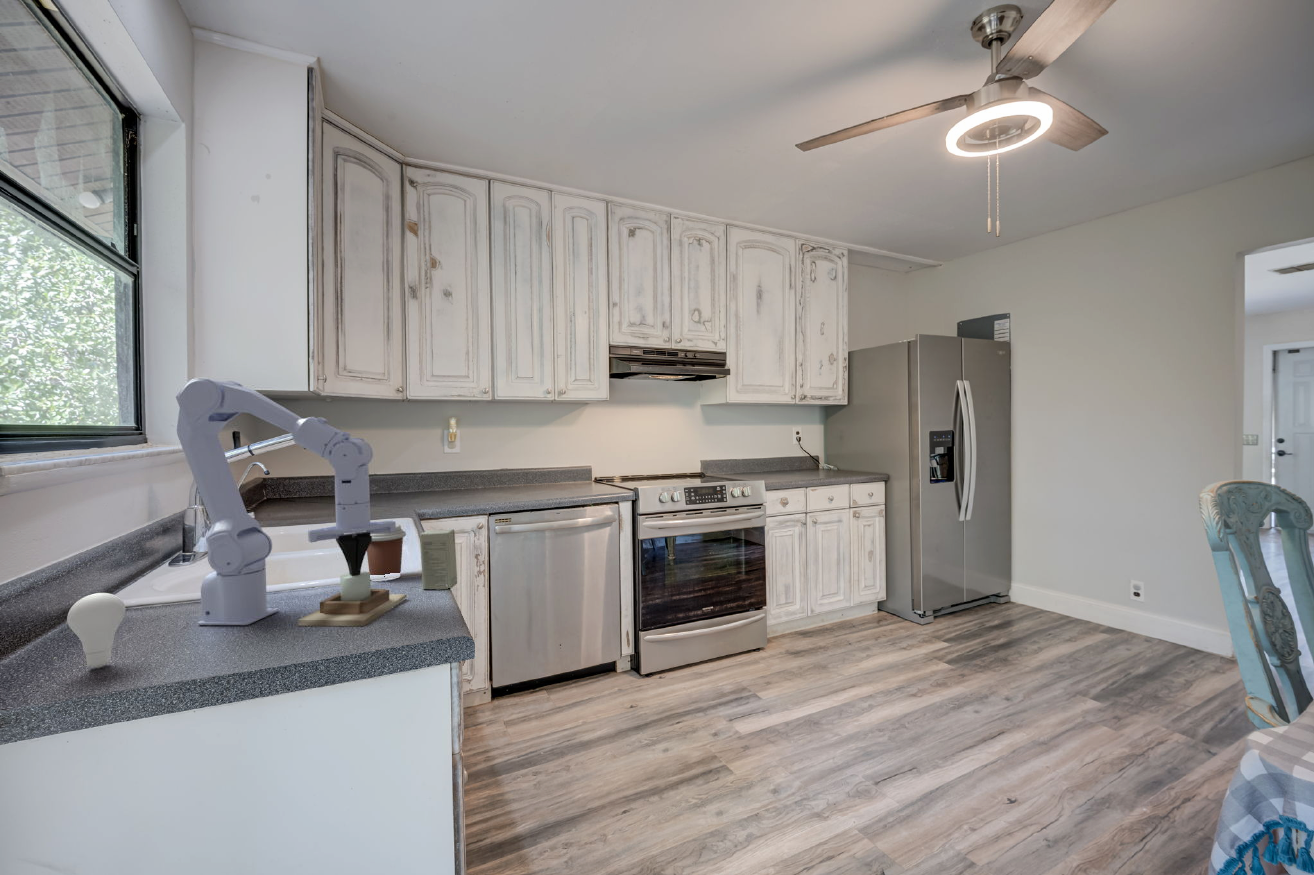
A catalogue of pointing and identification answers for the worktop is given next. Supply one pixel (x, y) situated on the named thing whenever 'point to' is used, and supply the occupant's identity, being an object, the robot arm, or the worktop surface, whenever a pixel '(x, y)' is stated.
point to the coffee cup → (386, 552)
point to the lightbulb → (96, 625)
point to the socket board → (352, 610)
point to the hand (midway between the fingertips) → (354, 574)
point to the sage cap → (355, 587)
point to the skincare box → (438, 559)
